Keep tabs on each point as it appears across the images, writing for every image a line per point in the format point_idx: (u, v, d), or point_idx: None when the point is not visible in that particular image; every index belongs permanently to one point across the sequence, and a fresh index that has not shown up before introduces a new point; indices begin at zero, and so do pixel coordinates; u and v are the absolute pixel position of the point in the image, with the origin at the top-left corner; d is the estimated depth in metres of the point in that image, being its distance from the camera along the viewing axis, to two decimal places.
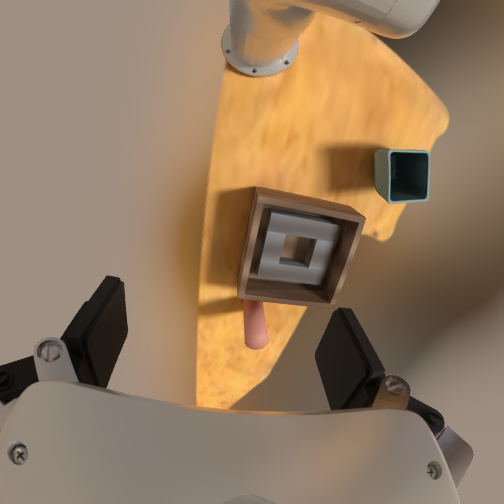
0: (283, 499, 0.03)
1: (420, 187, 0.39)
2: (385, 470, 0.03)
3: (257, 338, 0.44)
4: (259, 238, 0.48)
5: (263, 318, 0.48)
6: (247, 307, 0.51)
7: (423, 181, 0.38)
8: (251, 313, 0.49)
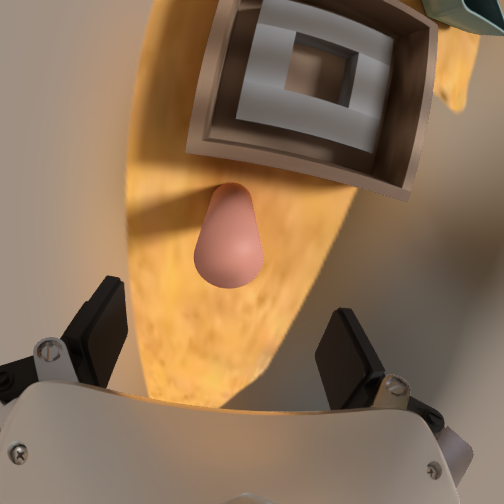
0: (283, 499, 0.03)
1: (493, 22, 0.10)
2: (385, 470, 0.03)
3: (230, 248, 0.15)
4: (242, 57, 0.19)
5: (250, 212, 0.19)
6: (215, 198, 0.22)
7: (494, 14, 0.09)
8: (220, 201, 0.20)
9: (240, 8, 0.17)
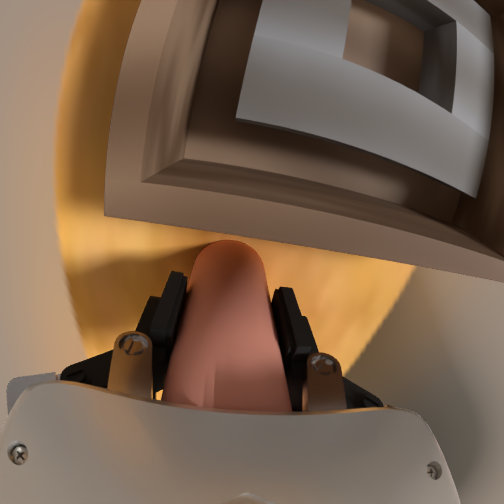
0: (282, 499, 0.03)
1: None
2: (385, 470, 0.03)
3: None
4: (249, 5, 0.08)
5: (272, 351, 0.08)
6: (195, 291, 0.11)
7: None
8: (202, 319, 0.09)
9: None
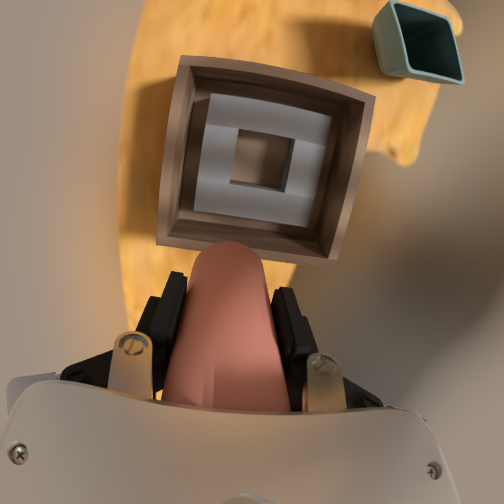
0: (282, 499, 0.03)
1: (449, 69, 0.18)
2: (385, 470, 0.03)
3: None
4: (199, 148, 0.27)
5: (271, 352, 0.08)
6: (194, 293, 0.11)
7: (451, 60, 0.17)
8: (202, 321, 0.09)
9: (195, 99, 0.25)
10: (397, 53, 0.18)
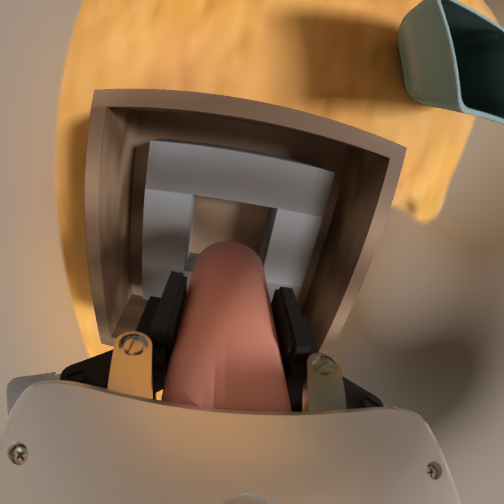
0: (283, 499, 0.03)
1: (502, 102, 0.11)
2: (385, 470, 0.03)
3: None
4: None
5: (272, 352, 0.08)
6: (195, 293, 0.11)
7: None
8: (202, 321, 0.09)
9: (138, 142, 0.18)
10: (443, 77, 0.11)
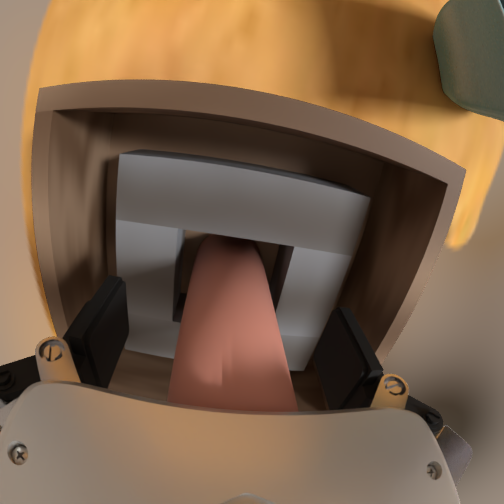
0: (282, 499, 0.03)
1: None
2: (385, 470, 0.03)
3: None
4: None
5: (270, 322, 0.09)
6: (200, 274, 0.12)
7: None
8: (209, 295, 0.10)
9: (111, 154, 0.13)
10: (503, 80, 0.06)
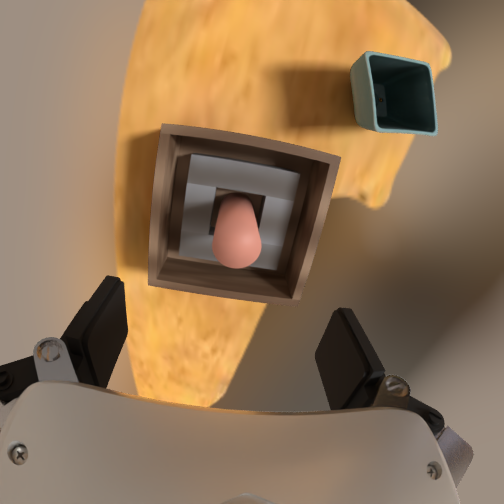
0: (283, 499, 0.03)
1: (424, 118, 0.23)
2: (385, 470, 0.03)
3: (238, 238, 0.22)
4: (184, 199, 0.32)
5: (252, 215, 0.26)
6: (225, 204, 0.28)
7: (427, 109, 0.22)
8: (229, 206, 0.26)
9: (179, 154, 0.30)
10: (367, 110, 0.23)
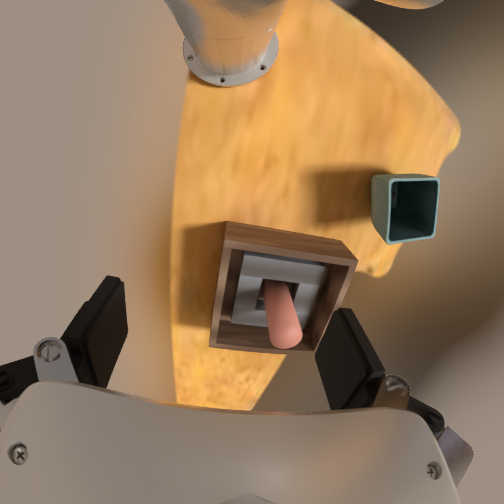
0: (283, 499, 0.03)
1: (426, 220, 0.33)
2: (385, 470, 0.03)
3: (287, 333, 0.32)
4: (233, 279, 0.42)
5: (292, 306, 0.36)
6: (270, 292, 0.38)
7: (429, 214, 0.32)
8: (276, 299, 0.36)
9: None
10: (383, 225, 0.32)
